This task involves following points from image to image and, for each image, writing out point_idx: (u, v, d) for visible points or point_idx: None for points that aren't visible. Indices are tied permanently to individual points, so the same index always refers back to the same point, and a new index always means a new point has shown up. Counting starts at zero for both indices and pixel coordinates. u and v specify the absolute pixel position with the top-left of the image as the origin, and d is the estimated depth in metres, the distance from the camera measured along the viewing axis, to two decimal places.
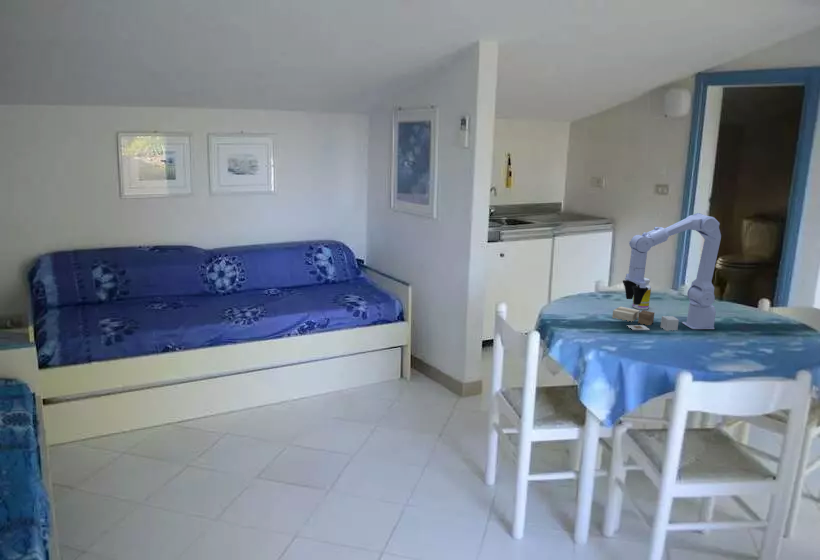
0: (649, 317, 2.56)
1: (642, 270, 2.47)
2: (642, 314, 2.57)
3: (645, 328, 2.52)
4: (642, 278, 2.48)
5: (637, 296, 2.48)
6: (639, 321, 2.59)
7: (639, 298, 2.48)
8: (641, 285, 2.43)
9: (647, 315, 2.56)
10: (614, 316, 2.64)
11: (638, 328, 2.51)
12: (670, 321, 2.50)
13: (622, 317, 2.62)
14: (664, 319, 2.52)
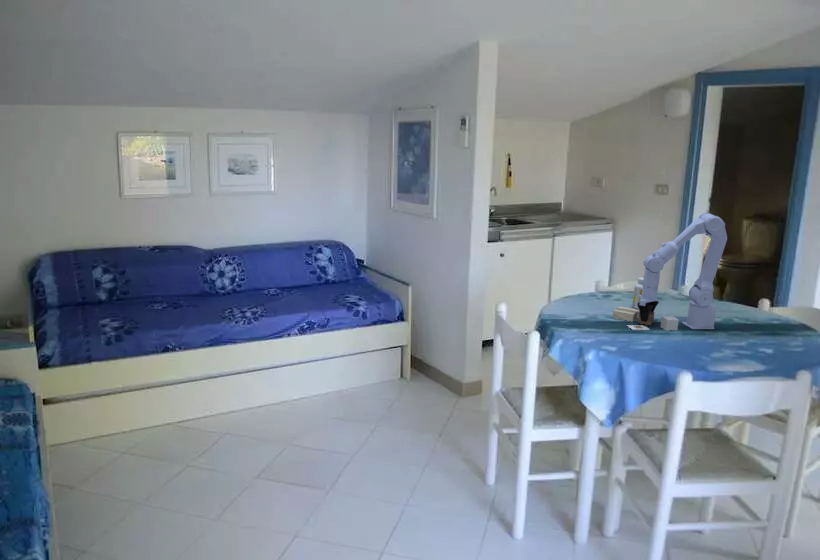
0: (649, 317, 2.56)
1: (650, 289, 2.53)
2: None
3: (645, 328, 2.52)
4: (651, 297, 2.54)
5: (643, 313, 2.56)
6: (639, 321, 2.59)
7: (645, 315, 2.56)
8: (640, 302, 2.52)
9: None
10: (614, 316, 2.64)
11: (638, 328, 2.51)
12: (670, 321, 2.50)
13: (622, 317, 2.62)
14: (664, 319, 2.52)
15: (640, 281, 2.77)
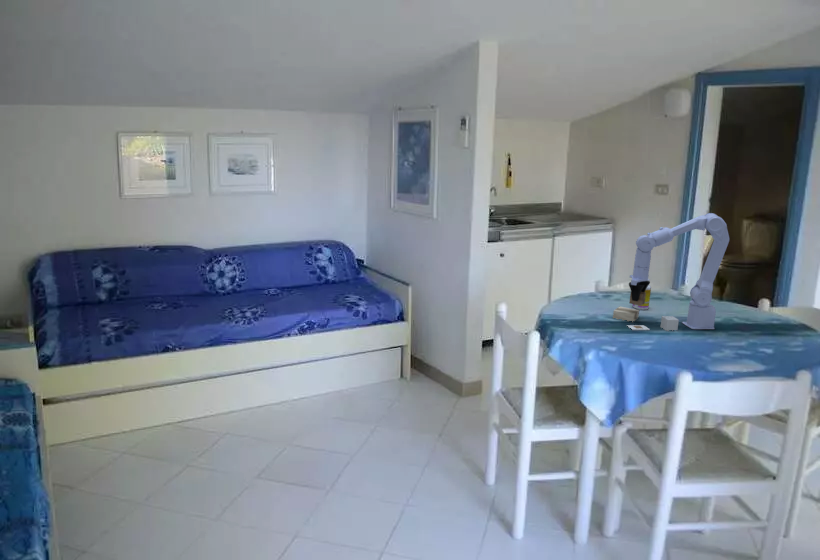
0: (641, 297, 2.57)
1: (641, 269, 2.55)
2: None
3: (645, 328, 2.52)
4: (642, 277, 2.56)
5: (634, 292, 2.58)
6: (630, 301, 2.60)
7: (636, 295, 2.57)
8: (631, 282, 2.53)
9: None
10: (615, 316, 2.64)
11: (638, 328, 2.51)
12: (670, 321, 2.50)
13: (623, 317, 2.62)
14: (664, 319, 2.52)
15: None
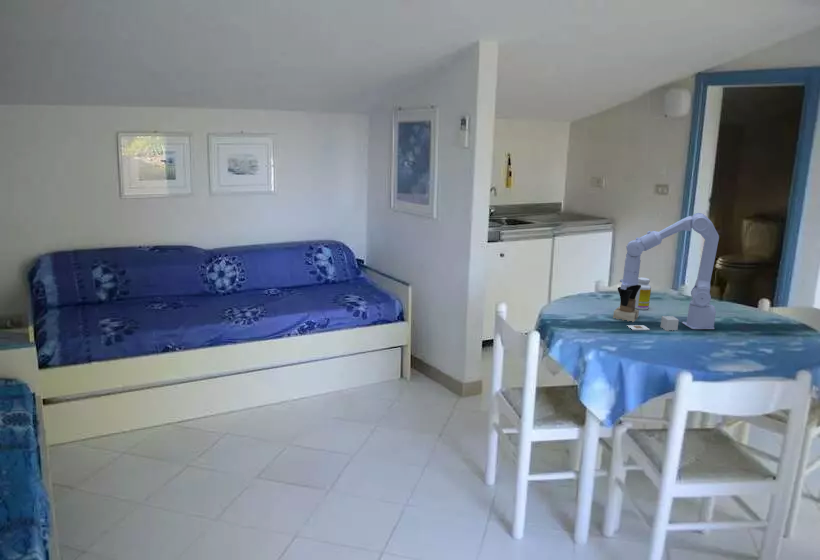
0: (630, 304, 2.61)
1: (631, 273, 2.58)
2: None
3: (645, 328, 2.52)
4: (632, 281, 2.59)
5: (623, 297, 2.60)
6: (621, 308, 2.64)
7: (625, 300, 2.60)
8: (621, 286, 2.57)
9: (628, 302, 2.62)
10: (615, 316, 2.64)
11: (638, 328, 2.51)
12: (670, 321, 2.50)
13: (623, 317, 2.62)
14: (664, 319, 2.52)
15: (640, 281, 2.77)
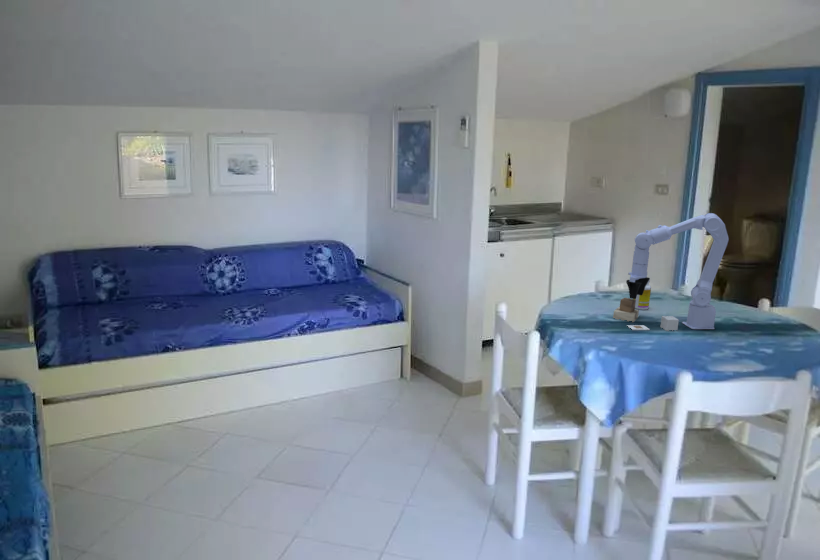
0: (630, 304, 2.61)
1: (640, 266, 2.57)
2: (623, 301, 2.63)
3: (645, 328, 2.52)
4: (640, 274, 2.57)
5: (632, 290, 2.59)
6: (620, 308, 2.64)
7: (634, 292, 2.58)
8: (630, 279, 2.55)
9: (628, 302, 2.62)
10: (615, 317, 2.64)
11: (638, 328, 2.51)
12: (670, 321, 2.50)
13: (623, 317, 2.62)
14: (664, 319, 2.52)
15: None
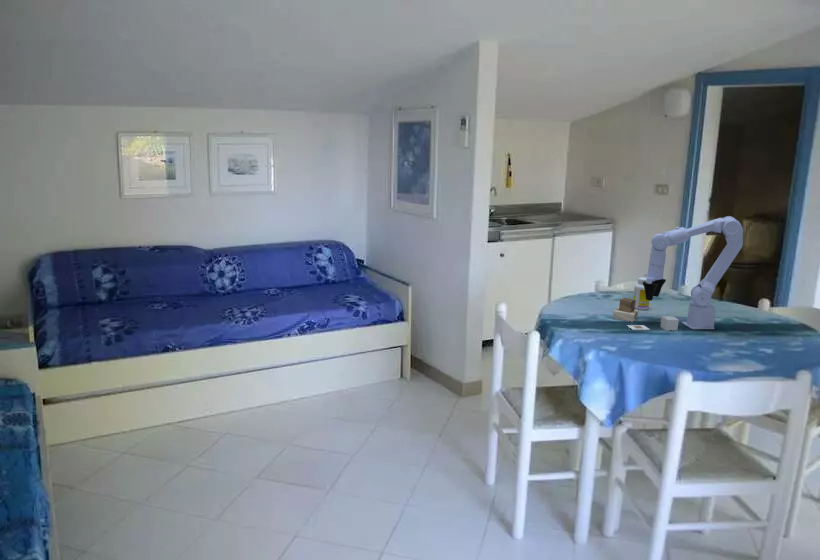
0: (629, 304, 2.61)
1: (656, 267, 2.55)
2: (623, 301, 2.63)
3: (645, 328, 2.52)
4: (657, 275, 2.55)
5: (648, 292, 2.57)
6: (620, 308, 2.64)
7: (650, 294, 2.56)
8: (647, 280, 2.53)
9: (627, 302, 2.62)
10: (614, 317, 2.64)
11: (638, 328, 2.51)
12: (670, 321, 2.50)
13: (623, 317, 2.62)
14: (664, 319, 2.52)
15: (640, 281, 2.77)
